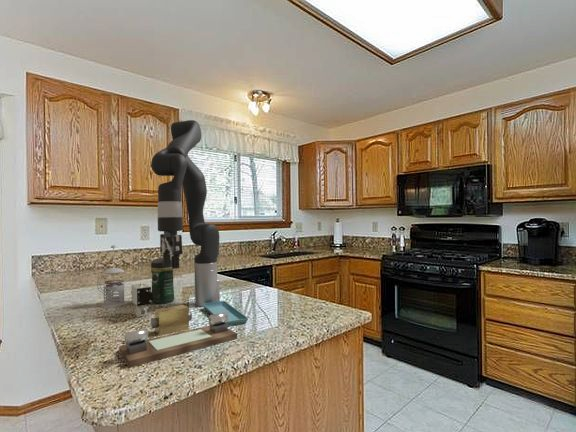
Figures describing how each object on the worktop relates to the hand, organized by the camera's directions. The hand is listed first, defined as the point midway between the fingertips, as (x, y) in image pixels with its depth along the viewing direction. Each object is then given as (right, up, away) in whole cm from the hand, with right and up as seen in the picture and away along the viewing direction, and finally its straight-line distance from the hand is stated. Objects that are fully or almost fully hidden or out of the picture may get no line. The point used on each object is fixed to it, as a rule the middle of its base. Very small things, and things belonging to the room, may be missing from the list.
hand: (170, 267), depth 104 cm
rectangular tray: (+14, -21, +15) cm, 29 cm away
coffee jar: (-17, -21, +37) cm, 46 cm away
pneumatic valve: (-17, -21, +17) cm, 32 cm away
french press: (-37, -21, +34) cm, 55 cm away
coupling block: (0, -20, 0) cm, 20 cm away
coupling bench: (+7, -20, -12) cm, 25 cm away
